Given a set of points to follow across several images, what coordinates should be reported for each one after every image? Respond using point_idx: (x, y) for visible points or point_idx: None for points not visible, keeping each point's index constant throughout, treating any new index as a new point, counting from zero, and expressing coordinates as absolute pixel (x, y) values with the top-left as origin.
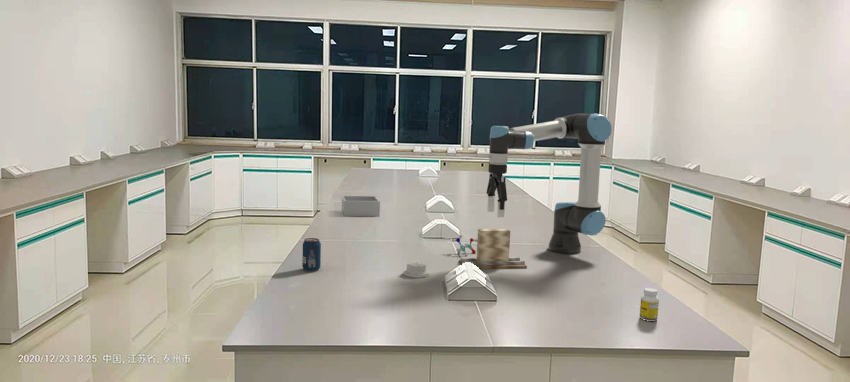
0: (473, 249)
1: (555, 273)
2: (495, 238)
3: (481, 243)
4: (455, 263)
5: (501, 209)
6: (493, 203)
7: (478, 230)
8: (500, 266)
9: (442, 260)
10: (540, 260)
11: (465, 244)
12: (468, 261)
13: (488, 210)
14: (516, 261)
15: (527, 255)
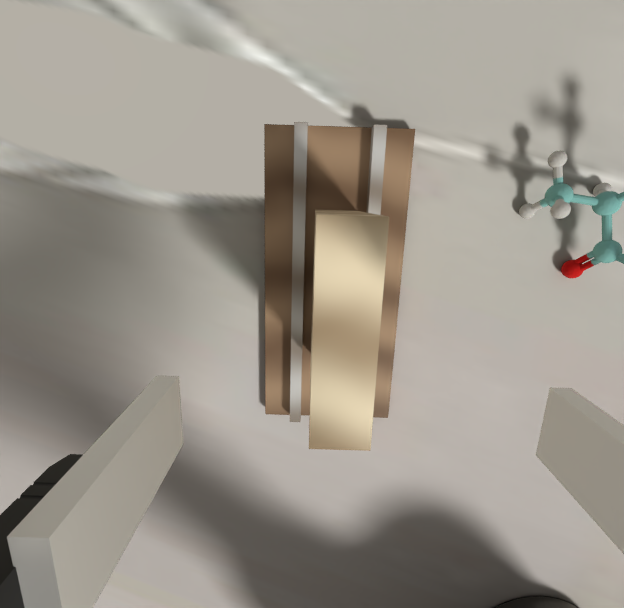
0: (584, 268)
1: (187, 482)
2: (312, 325)
3: (315, 224)
4: (381, 101)
5: (67, 468)
6: (613, 527)
7: (372, 216)
8: (265, 300)
9: (453, 40)
10: (385, 504)
11: (561, 202)
12: (366, 169)
13: (557, 401)
14: (294, 387)
15: (474, 487)
